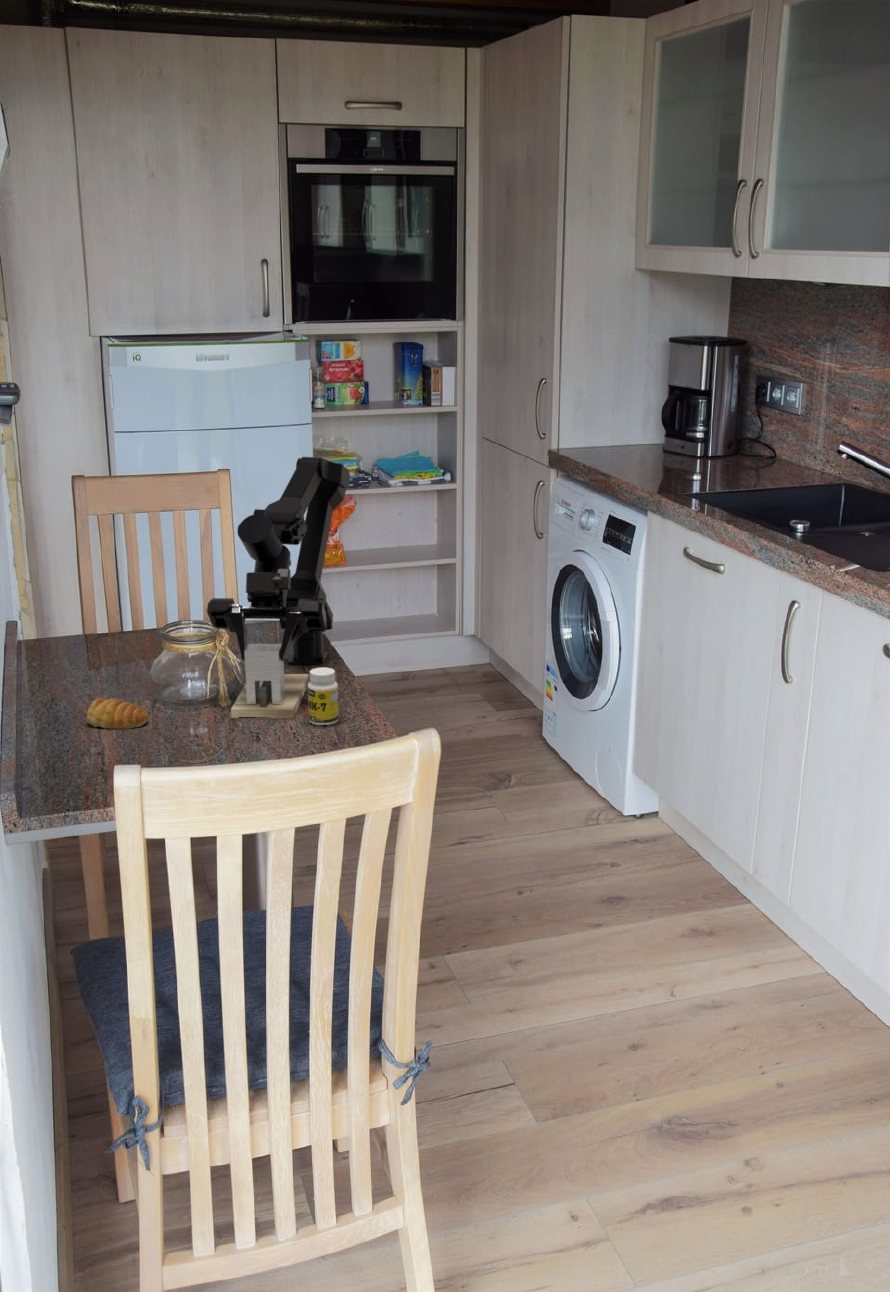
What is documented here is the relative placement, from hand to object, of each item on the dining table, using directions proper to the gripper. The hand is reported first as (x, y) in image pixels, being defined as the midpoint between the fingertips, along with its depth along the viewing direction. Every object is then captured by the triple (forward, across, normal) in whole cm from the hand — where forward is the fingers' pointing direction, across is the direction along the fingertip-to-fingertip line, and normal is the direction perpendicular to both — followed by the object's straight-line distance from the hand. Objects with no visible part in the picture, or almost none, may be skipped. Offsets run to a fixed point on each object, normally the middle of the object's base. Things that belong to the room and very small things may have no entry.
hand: (262, 659), depth 190 cm
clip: (+4, 0, +6) cm, 7 cm away
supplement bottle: (+9, +10, +4) cm, 14 cm away
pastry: (+10, -23, +3) cm, 25 cm away
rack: (+2, 0, +11) cm, 11 cm away
